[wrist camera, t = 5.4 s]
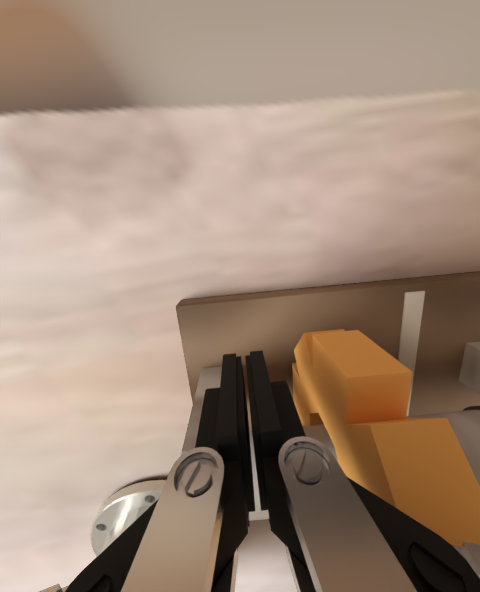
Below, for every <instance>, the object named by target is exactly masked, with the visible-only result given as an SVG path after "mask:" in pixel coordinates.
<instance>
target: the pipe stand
mask: <svg viewBox="0 0 480 592" xmlns="http://www.w3.org/2000/svg"><path fill="white" fill-rule="evenodd" d="M176 311H177V317H178V323H179V328H180V334H181V340H182V345H183V351H184V357H185V362H186V368H187V373H188V379H189V385H190V390H191V396H192V402H193V407H192V411H191V415H190V419H189V424H188V428H187V432H186V436H185V440H184V445H183V449H182V453H181V456H182V455H183V454H184V453H186V452H187V451H189V450H192V449H194V448H195V445H196V439H197V434H198V428H199V422H200V417H201V411H202V406H203V400H204V395H205V390H206V389H209V388H218V387H220V383H221V371H222V360H223V355H224V354H233V353H236V357H237V356H241V359H242V367H243V376H244V384H245V393H246V401H247V410H248V421H249V434H250V447H251V460H252V473H253V486H254V499H255V511H254V512H249V521H252V520H262V519H269V513H268V510H264V511H261V506H260V497H259V488H258V480H257V471H256V462H255V453H254V445H253V436H252V426H251V415H250V404H249V393H248V382H247V371H246V360H245V356H247V355H250V352H251V351H261V350H262V351H263V355H264V359H265V363H266V367H267V371H268V375H269V380H270V382H274V381H283V380H286V382H287V384H288V387H289V390H290V392H291V395H292V398H293V371H292V363H296V359H295V354H294V349H295V347H296V346H297V344H298V342H299V341H300V339H301V337H302V335H303V334H304V333H308V332H318V331H329V330H339V329H344V330H345V331H351V330H359V331H360V332H361V333H363V334H364V335H365V336H367V337H368V338H369V339H371V340H372V341H373V342H374V343H376V344H377V345H378V346H380V347H381V348H382V349H383V350H385V351H386V352H387V353H389V354H390V355H391V356H393V357H394V358H395V359H396V360H398V361H399V362H400V363H402V364H403V365H404V366H406V367H407V368H408V369H409V370H411V371H412V378H411V386H410V393H409V401H408V408H407V416H406V419H414V418H448V421H449V423H450V425H451V427H452V429H453V431H454V433H455V435H456V437H457V439H458V442H459V444H460V446H461V448H462V450H463V452H464V454H465V456H466V458H467V461H468V463H469V465H470V467H471V469H472V471H473V473H474V475H475V477H476V480H477V482H478V484H479V486H480V271H479V272H469V273H458V274H448V275H437V276H427V277H416V278H406V279H395V280H385V281H374V282H364V283H353V284H343V285H332V286H322V287H311V288H301V289H290V290H280V291H269V292H259V293H249V294H238V295H228V296H217V297H207V298H196V299H186V300H181V301H180V302H179V303H178V304H177V306H176ZM303 429H304V432H305V435H306V437H310V438H313V439H316V440H318V441H320V442H321V443H322V444H324V445H325V446H326V447H327V448H328V449H329V450H330V451H331V453H332V454H333V455H334V457H335V459H336V460H337V462H338V459H337V455H336V451H335V447H334V444H333V442H332V440H331V438H330V436H329V434H328V432H327V430H326V428H325V426H324V424H322V425H311V426H303Z"/></svg>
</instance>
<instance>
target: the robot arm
mask: <svg viewBox="0 0 480 592" xmlns="http://www.w3.org/2000/svg"><path fill="white" fill-rule="evenodd" d="M245 360H246V371H247V382H248V393H249V404H250V415H251V426H252V436H253V445H254V453H255V462H256V471H257V480H258V488H259V497H260V506H261V511H264V510H268V513H269V521H270V525H271V531H272V532H273V533H274V534H275V535H276V536H277V537H278V538H279V539H280V540H281V541H282V542H283V543H284V544H285V547H286V553H287V556H288V560H289V564H290V567H291V571H292V574H293V578H294V582H295V585H296V589H297V592H480V545H479V544H474V543H468V542H463V544H462V547H460V546H455V545H451V544H450V543H448V542H447V541H446V540H444V539H443V538H442V537H440V536H439V535H438V534H436V533H435V532H433V531H432V530H430V529H428V528H427V527H425V526H424V525H422V524H421V523H419V522H417V521H416V520H414V519H413V518H411V517H410V516H408V515H406V514H405V513H403V512H402V511H400V510H399V509H397V508H395V507H394V506H392V505H391V504H389V503H388V502H386V501H384V500H383V499H381V498H380V497H378V496H377V495H375V494H373V493H372V492H370V491H369V490H367V489H366V488H364V487H362V486H361V485H359V484H358V483H356V482H355V481H353V480H351V479H350V478H348V477H347V476H346V475H345V473H344V472H343V470H342V468H341V467H340V465H339V463H338V462H337V460H336V459H335V457H334V455H333V454H332V453H331V451H330V450H329V449H328V448H327V447H326V446H325V445H324V444H322V443H321V442H320V441H318V440H316V439H313V438H310V437H306V435H305V432H304V429H303V426H302V423H301V421H300V418H299V415H298V412H297V409H296V406H295V404H294V401H293V398H292V395H291V392H290V390H289V387H288V384H287V382H286V380H283V381H274V382H270V380H269V375H268V371H267V367H266V363H265V359H264V355H263V351H262V350H261V351H251V352H250V355H247V356H245ZM254 511H255V499H254V486H253V473H252V460H251V447H250V434H249V421H248V410H247V401H246V393H245V384H244V376H243V367H242V359H241V356H237V357H236V353H233V354H224V355H223V360H222V371H221V383H220V387H218V388H209V389H206V390H205V395H204V400H203V406H202V411H201V417H200V422H199V428H198V434H197V439H196V445H195V448H194V449H192V450H189V451H187V452H186V453H184V454H183V455H182V456H180V458H179V459H178V460H177V461H176V462H175V463H174V465H173V467H172V468H171V470H170V472H169V475H168V477H167V480H150V481H145V482H140V483H136V484H133V485H130V486H128V487H125V488H123V489H121V490H119V491H118V492H116V493H114V494H113V495H112V496H111V497H110V498H108V499H107V500H106V501H105V502H104V504H103V505H102V507H101V508H100V510H99V512H98V514H97V516H96V518H95V520H94V522H93V524H92V528H91V534H90V536H91V544H92V547H93V550H94V552H95V554H96V556H97V557H96V558H95V559H94V560H93V561H92V562H91V563H90V564H89V565H88V566H87V567H86V568H85V569H84V570H83V571H82V572H81V573H80V574H79V575H78V576H77V577H76V578H75V579H74V581H73V582H72V583H71V584H70V585H69V586H66V587H64V588H61V587H60V585H59V584H57V585H54V586H52V587H49V588H47V589H44V590H42V591H40V592H234V591H235V581H236V570H237V560H238V547H239V545H240V544H241V542H242V541H243V539H244V538H245V536H246V535H247V533H248V526H249V512H254Z"/></svg>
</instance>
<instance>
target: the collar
mask: <svg viewBox="0 0 480 592" xmlns="http://www.w3.org/2000/svg"><path fill="white" fill-rule="evenodd" d="M294 354H295V359H296V363H292V371H293V401H294V404H295V406H296V409H297V412H298V415H299V418H300V421H301V423H302V426H311V425H322V424H324V426H325V428H326V430H327V432H328V434H329V436H330V438H331V440H332V442H333V444H334V447H335V451H336V455H337V459H338V463H339V465H340V467H341V468H342V470H343V472H344V473H345V475H346V476H347V477H348V478H350V479H351V480H353V481H355V482H356V483H358V484H359V485H361V486H362V487H364V488H366V489H367V490H369V491H370V492H372V493H373V494H375V495H377V496H378V497H380V498H381V499H383V500H384V501H386V502H388V503H389V504H391V505H392V506H394V507H395V508H397V509H399V510H400V511H402V512H403V513H405V514H406V515H408V516H410V517H411V518H413V519H414V520H416V521H417V522H419V523H421V524H422V525H424V526H425V527H427V528H428V529H430V530H432V531H433V532H435V533H436V534H438V535H439V536H440V537H442V538H443V539H444V540H446V541H447V542H448V543H450V544H451V545H455V546H460V547H462V544H463V542H468V543H474V544H479V545H480V486H479V484H478V482H477V480H476V477H475V475H474V473H473V471H472V469H471V467H470V465H469V463H468V461H467V458H466V456H465V454H464V452H463V450H462V448H461V446H460V444H459V442H458V439H457V437H456V435H455V433H454V431H453V429H452V427H451V425H450V423H449V421H448V418H414V419H406V416H407V408H408V401H409V393H410V386H411V378H412V371H411V370H409V369H408V368H407V367H406V366H404V365H403V364H402V363H400V362H399V361H398V360H396V359H395V358H394V357H393V356H391V355H390V354H389V353H387V352H386V351H385V350H383V349H382V348H381V347H380V346H378V345H377V344H376V343H374V342H373V341H372V340H371V339H369V338H368V337H367V336H365V335H364V334H363V333H361V332H360V331H359V330H351V331H345V330H344V329H339V330H329V331H318V332H308V333H304V334H303V335H302V337H301V339H300V341H299V342H298V344H297V346H296V347H295V349H294Z"/></svg>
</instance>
